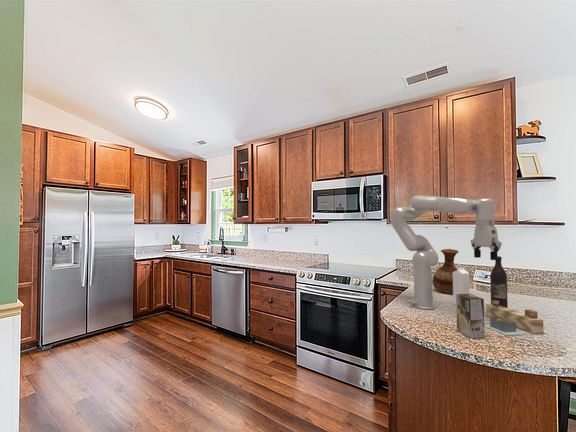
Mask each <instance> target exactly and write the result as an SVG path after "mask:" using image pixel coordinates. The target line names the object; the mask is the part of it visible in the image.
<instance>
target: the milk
mask: <svg viewBox="0 0 576 432" xmlns="http://www.w3.org/2000/svg"><path fill="white" fill-rule="evenodd" d="M456 268H457V270H456V271H454V272H453V294H452V296H453V297H452V300H453V301H452V302H453V303H452V304H453V305H455V306H457V305H456V294H470V273H469V271H468V270H465V266H458V267H456Z"/></svg>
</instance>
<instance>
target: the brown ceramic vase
mask: <svg viewBox="0 0 576 432" xmlns="http://www.w3.org/2000/svg"><path fill="white" fill-rule="evenodd" d="M440 252H441V253H442V254H443V255H444V262H443V264H442V266H440V267H438V269H437V270H436V271H435V272H434V274H433V276H432V283H433V289H435V290H437V291H440V292H442V293H446V294H452V295H453V272H454V271H456V270H457V268H458V267H456V266H455V257H456V255H457V254H458V253H459V250H457V249H451V248H446V249H440Z"/></svg>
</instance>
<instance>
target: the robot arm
mask: <svg viewBox="0 0 576 432" xmlns="http://www.w3.org/2000/svg"><path fill="white" fill-rule="evenodd" d="M409 205H410V206H409V207H406V206H404V207H403V206H399V207H396V208H394V209H393V210H392V211H391V213H390V217H389V218H390V224H391V226H392V228H393V229H394V231H395V233H396V234H397V235H398V237H399V239H400V240H401V242H402V243H403V246H404V247H405V248H406V249H407V250H408V251H410V252H415V253H414V254H413V256H412V260H411V261H412V267H413V278H414V279H413V282H414V283H413V286H414V287H413V288H414V289H413V290H414V291H413V295H414V297H412V298H411V299H406V301H405V302H406V303H407V304H410V305H411V306H412V307H414V308H416V309H417V308H418V309H422V310H435V309H437V305H436V304H435V303H434V295H433V289H434V286H433V271H432V267H434V266H436V265H437V264H438V263H439V255H438V253H437V252H436V250H435V249H434V247H433V245H431V243H430V242H429V240H428V239H427V238H426V237H425V236H424V235H421V234H416V233H415V232H414V230H413V229H412V227H411V226H410V225H409V224H408V222H412V221H414V220H415V219H417V218H419V217H420V216H421V215H422V214H424V213H425V212H434V213H435V212H437V213H452V214H453V213H455V214H461V215H462V214H463V215H474V214H475V227H474V234H473V235H474V236H473V238H472V239H471V240H470V243H471V247H472V250H473V255H474V256H473V258H477V259H478V258H481V257H482V256H481V255H482V253H481V252H482V251H481V247H482V248H489V250H490V252H489V254H490V258H489V259H490V260H491V261H495V260H497V256H498V252H499V250H501V247H502V244H503V243H502V242H501V241H500V240H499V235H498V229H497V227H496V226H495V225H496V222H495V201H494V199H492V198H478V199H468V198H459V197H458V198H457V197H443V196H438V195H437V196H433V195H419V194H418V195H414V196H413V197H411V198H410V201H409Z"/></svg>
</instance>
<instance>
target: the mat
mask: <svg viewBox="0 0 576 432" xmlns="http://www.w3.org/2000/svg"><path fill="white" fill-rule="evenodd" d="M484 328H487V329H490V330H492V331H493V332H494V331H495V332H497V333H499V334H502V335H504V336H506V337H510V336H511V337H512V336H513V337H514V336H525V335H526V333H524V332H521V331H519V330H517V329H516V332H502V331H500V330H497V329H495V328H493V327H490V324H484Z"/></svg>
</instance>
